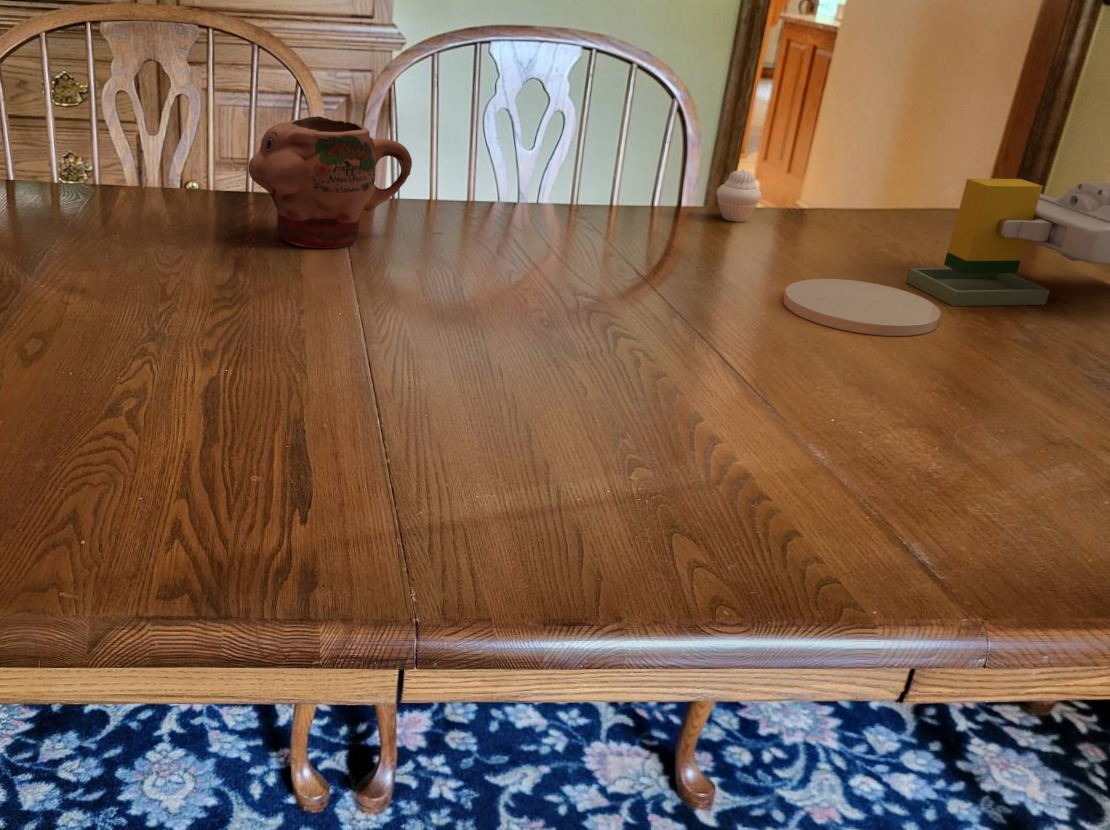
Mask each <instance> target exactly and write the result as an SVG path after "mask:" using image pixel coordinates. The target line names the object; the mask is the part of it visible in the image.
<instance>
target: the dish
mask: <svg viewBox="0 0 1110 830" xmlns="http://www.w3.org/2000/svg"><path fill="white" fill-rule="evenodd" d="M905 282H906V283H907V284H909V285H910V286H912V287H915V288H917V289H918V290H921V291H922V292H923V293H924V292H925V293H926V294H928V295H930V296H932V297H934V298H936V299H938V300H940V301H942V302H944V303H945V304H948V305H950V306H952V307H972V306H973V307H979V306H980V307H981V306H982V307H983V306H984V307H985V306H986V307H987V306H1039V305H1040V304H1041V305H1040V306H1046V305H1047V301H1048V298H1049V295H1050V292H1051V290H1050V289H1047V288H1045V287H1043V286H1041V285H1038V284H1037V283H1034V282H1032V281H1029V280H1028V279H1025V278H1022V277H1020V276H1018V275H1016V274H1014V273H997V274H963V273H960V272H958V271H956V270H954V269H952V268H950V267H922V268H921V267H919V268H918V267H917V268H915V267H914V268H913V267H909V268H908V271H907V275H906V281H905ZM1045 304H1046V305H1045Z"/></svg>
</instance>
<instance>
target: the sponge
mask: <svg viewBox="0 0 1110 830" xmlns="http://www.w3.org/2000/svg"><path fill="white" fill-rule="evenodd" d="M1043 188H1044V186H1043V185H1040V184H1038V183H1035V182H1032V181H1028V180H1025V179H1022V178H967V179H966V182H965V185H964V190H963V193H962V197H961V200H960V203H959V204H960V205H959V208H958V211H957V216H956V218H955V222H954V226H953V231H952V234H951V237H950V241H949V244H948V249H947V252H946V255H945V258H944V260H945V261H944V263H943V265H944V266H946V267H947V268H952V269H954V270H956V271H958V272H960V273H963V274H997V273H1011V274H1018V271H1019V267H1020V265H1021V261H1022V258H1023V254H1024V251H1025V248H1026V244H1027V241H1028V240H1027V239H1022V238H1017V237H1004V236H1001V235H999V234H997V233H996V229H997V227H998V222H999V220H1000V219H1004V218H1005V219H1007V218H1013V219H1016V220H1029V221H1033V218H1034V214H1035V211H1036V208H1037V204H1038V201H1039V198H1040V194H1042V191H1043Z"/></svg>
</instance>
